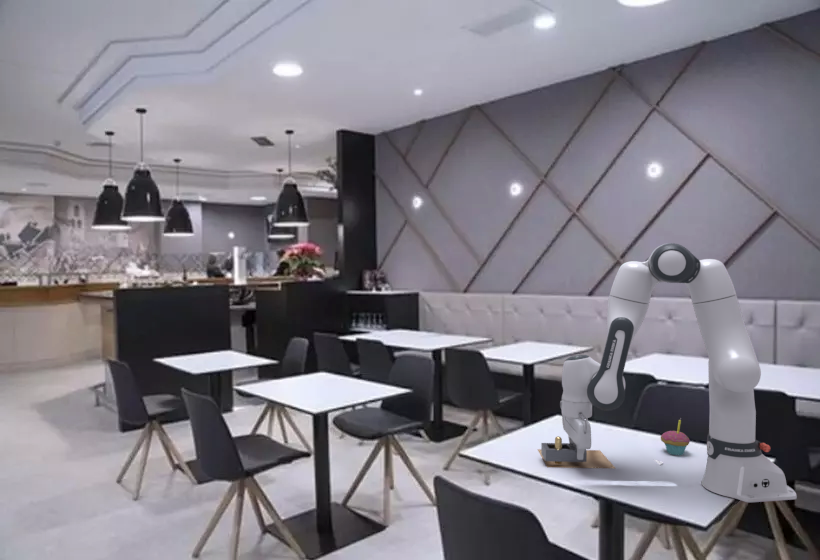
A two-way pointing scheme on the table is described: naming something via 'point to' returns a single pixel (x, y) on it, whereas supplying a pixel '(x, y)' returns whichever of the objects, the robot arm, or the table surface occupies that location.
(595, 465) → the oak board
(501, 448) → the table surface
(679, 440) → the cupcake
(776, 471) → the robot arm
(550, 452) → the steel link
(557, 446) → the post
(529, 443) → the table surface
